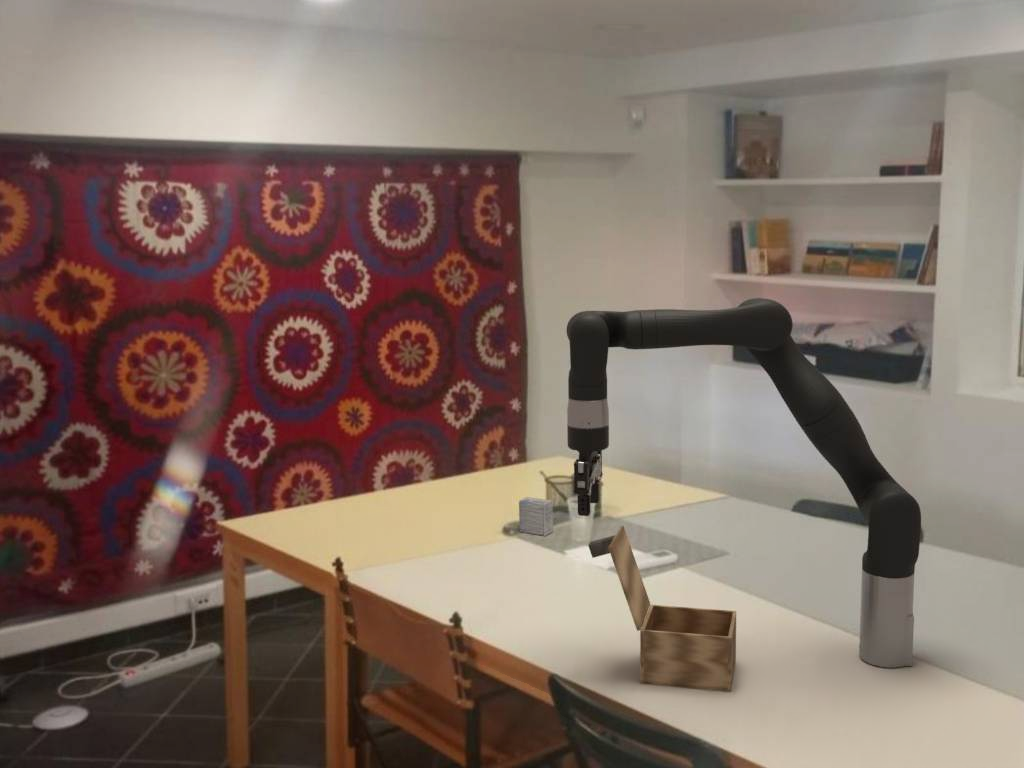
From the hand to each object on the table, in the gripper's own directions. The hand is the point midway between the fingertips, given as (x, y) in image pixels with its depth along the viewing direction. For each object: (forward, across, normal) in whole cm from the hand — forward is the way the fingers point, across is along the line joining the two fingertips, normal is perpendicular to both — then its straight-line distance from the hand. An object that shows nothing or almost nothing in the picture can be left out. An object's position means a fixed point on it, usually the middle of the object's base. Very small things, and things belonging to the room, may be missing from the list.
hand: (588, 508), depth 203 cm
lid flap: (+12, 0, -8) cm, 15 cm away
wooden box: (+30, 0, -18) cm, 35 cm away
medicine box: (+30, +78, +30) cm, 89 cm away
